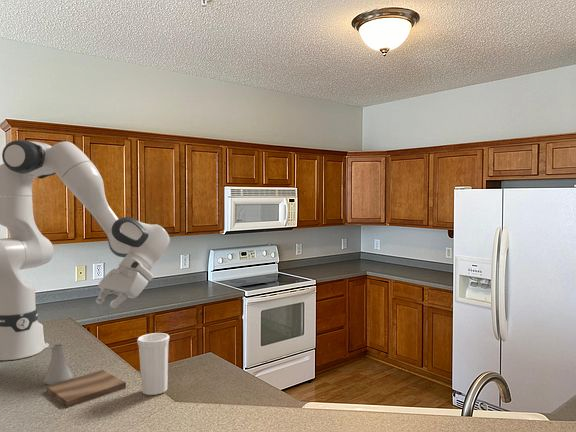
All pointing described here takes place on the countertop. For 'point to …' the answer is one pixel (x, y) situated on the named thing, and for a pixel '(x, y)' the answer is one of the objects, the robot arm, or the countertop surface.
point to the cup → (154, 362)
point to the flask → (57, 367)
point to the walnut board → (85, 388)
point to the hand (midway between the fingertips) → (104, 304)
